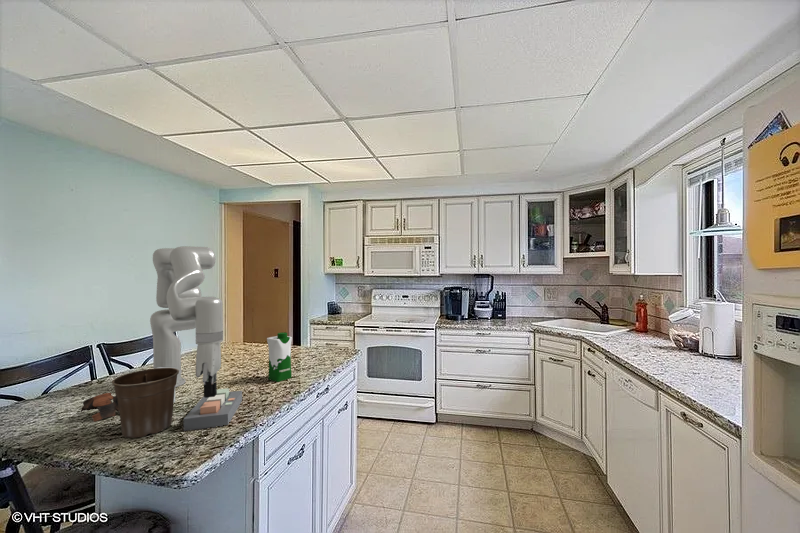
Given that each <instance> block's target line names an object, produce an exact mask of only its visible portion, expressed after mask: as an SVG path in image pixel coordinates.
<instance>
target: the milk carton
mask: <svg viewBox="0 0 800 533" xmlns="http://www.w3.org/2000/svg"><path fill="white" fill-rule="evenodd" d="M292 341H293V337H292V336H288V332H287V331H286V332H284V331H283V332H278V333H277V335H276V336H270V337H267V338H266V342H267V347H268V380H269V381H273V382H277V383H279V382H282V381H285V380H289V379H292V377H293V376H292V349H291V348H292Z"/></svg>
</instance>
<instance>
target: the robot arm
mask: <svg viewBox="0 0 800 533" xmlns="http://www.w3.org/2000/svg"><path fill="white" fill-rule="evenodd" d="M152 263H153V267H154V269H155V271H156V274H157V279H156V280H157V281H156V282H157V283H156V293H155V294H156V295H155V296H156V298H155V299H156V300H155V301H156V305H157V306H158V307H159V308H162V309H160V310H157V311H155V312H153V313H152V314H151V315H150V320H149V322H150V329H151V334H152V348H153V351H152V352H153V353H152V355H153V358H152V360H153V361H152V362H153V365H152V366H153V369H154V368H158V367H169V368H176V369H178V370H179V373H178V374H177V382H176V385H175V388H176V387H180V386H182V385H184V384H185V383H186V379H185V378H184V377H182V373H183V371H182V359H181V358H182V352H181V351H182V348H181V347H182V346H181V345H182V344H181V343H182V342H181V340H180V338H179V337H178V336H177V335H176V334H174V333H175V332H179V331H180V332H181V331H188V330H189V331H190V330H194V329H195V344H196V345H197V346H196V347H197V348H196V355H195V356H196V357H195V358H196V359H195V377H196V378H200V377H202V383H203V396H204V397H205V398H207V397H215V396H216V394H217V388H218V387H217V386H218V385H217V384H218V383H217V378H218V375H217V374H218V373H217V372H219V370H220V369H221V366H222V352H221V351H222V350H221V348H222V347H221V343H222V342H224V323H223V322H224V318H223V317H224V315H223V314H224V313H223V311H224V309H223V307H224V306H223V305H224V304H223V300H222V299H221V298H219V297H215V296H213V295H212V296H209V295H207V296H202V291H201V287H199V286H200V285H201V284H202V283H203V282H204V281H205V278H206V277H205V273H204V270H210V269H213V267H214V266H215V265H216V255H215V252H214V251H213V250H212V248H210V247H208V246H191V245H190V246H188V245H187V246H185V245H184V246H177V247H171V248H170V247H169V248H168V247H167V248H166V247H165V248H164V247H163V248H158V249H155V250H154V251H153V254H152Z"/></svg>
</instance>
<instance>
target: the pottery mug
mask: <svg viewBox="0 0 800 533" xmlns="http://www.w3.org/2000/svg"><path fill="white" fill-rule="evenodd" d="M82 405H83V406H82V407H81V410H80V412H81V413H82V412H83V411H84V412H85V411H88V412H89V411H92V410H98V411H99V412H97V413H95V414H92V416H91V418H92V420H93V423H96V422H98V421H101V420H103V419H107V418H111V417H115V416H116V412H119V406H118V399H117V396H116V395H112V393H111V392H107V393H101V394H97V395H95V396H92V397H89V398H87V399H85V400H84V401H82Z"/></svg>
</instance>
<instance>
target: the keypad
mask: <svg viewBox="0 0 800 533" xmlns="http://www.w3.org/2000/svg"><path fill="white" fill-rule="evenodd" d="M208 398H209V397H207V398H205V397H204V395H203V397H201V399H199V401H198V402H197V403H196V404H195V405H194V407H192V409H191V410H190V411H189V412H188V414H187V415H186V416H185V417H184V418H183V431H194V430H201V429H211V428H210V427H212V428H217V427H216V426H220V427H224V426H223V425H228V424H229V425H230V423H231V421H232V419H233V418H234V416H235V414H236V413H237V411H238V408H239V407H240V406H241V403H242V401H243V390H235V391H234V390H233V391H229V397H228V398H227V399H225V402H224V404H223V405H222V406H220V410H219V411H218V413H212V414H203V415H200V407H201V406H202V405H203V404H204V403H205V402H206V400H207V399H208ZM232 417H233V418H232ZM229 422H230V423H229ZM229 425H228V426H229Z"/></svg>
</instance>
